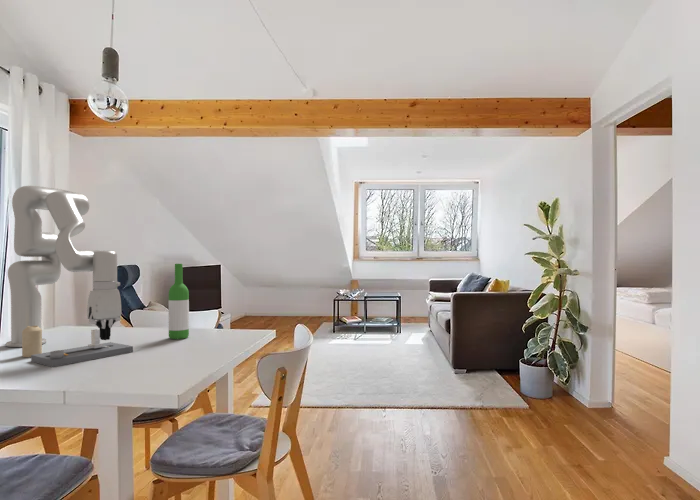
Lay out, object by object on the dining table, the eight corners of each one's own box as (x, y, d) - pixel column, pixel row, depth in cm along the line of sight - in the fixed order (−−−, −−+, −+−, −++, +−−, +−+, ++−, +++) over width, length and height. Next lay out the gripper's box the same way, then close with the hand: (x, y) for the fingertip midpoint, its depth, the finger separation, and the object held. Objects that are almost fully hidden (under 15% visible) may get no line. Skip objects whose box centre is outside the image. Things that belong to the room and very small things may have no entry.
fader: (87, 347, 162) (87, 329, 162) (96, 345, 164) (96, 328, 164) (94, 348, 159) (94, 331, 159) (103, 347, 162) (103, 329, 162)
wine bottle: (177, 340, 187) (177, 264, 188) (164, 338, 191) (164, 263, 192) (193, 337, 194) (192, 263, 194) (180, 335, 198) (179, 263, 198)
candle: (32, 357, 157) (32, 327, 157) (18, 357, 158) (18, 327, 158) (45, 354, 162) (45, 324, 162) (32, 353, 163) (32, 324, 163)
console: (31, 361, 152) (31, 348, 152) (110, 347, 173) (110, 336, 173) (52, 367, 144) (52, 353, 144) (132, 352, 166) (132, 340, 166)
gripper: (119, 284, 173) (119, 335, 173) (77, 287, 161) (77, 341, 160) (131, 285, 169) (131, 337, 169) (89, 288, 156) (89, 344, 156)
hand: (105, 339), depth 165 cm, fingers closed
